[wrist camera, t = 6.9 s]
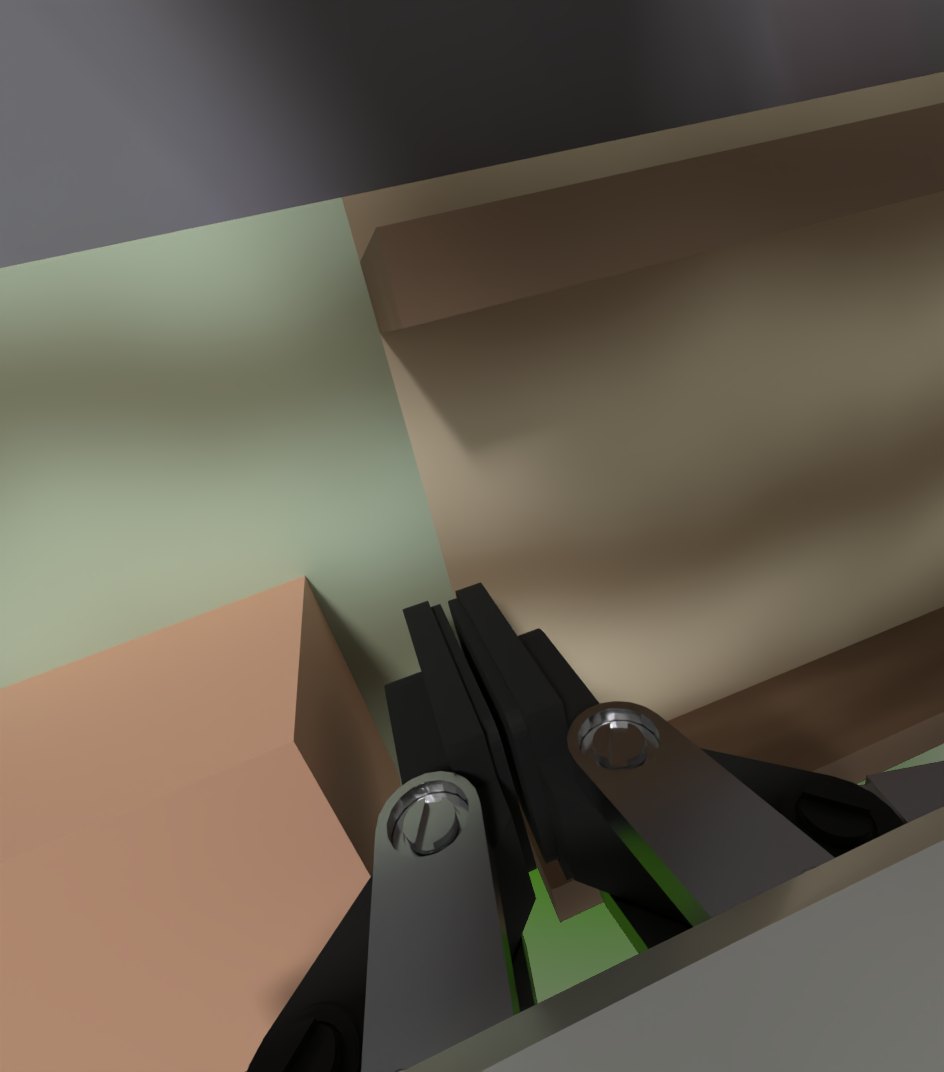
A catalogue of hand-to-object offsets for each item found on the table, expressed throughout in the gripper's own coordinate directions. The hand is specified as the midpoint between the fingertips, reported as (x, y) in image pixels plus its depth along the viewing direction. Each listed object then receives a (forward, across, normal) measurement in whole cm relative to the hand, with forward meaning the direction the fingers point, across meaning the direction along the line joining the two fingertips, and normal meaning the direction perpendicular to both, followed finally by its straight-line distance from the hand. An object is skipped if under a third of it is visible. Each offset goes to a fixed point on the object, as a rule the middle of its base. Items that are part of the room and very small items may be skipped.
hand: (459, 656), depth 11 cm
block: (+2, +5, +1) cm, 6 cm away
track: (+4, -10, 0) cm, 11 cm away
